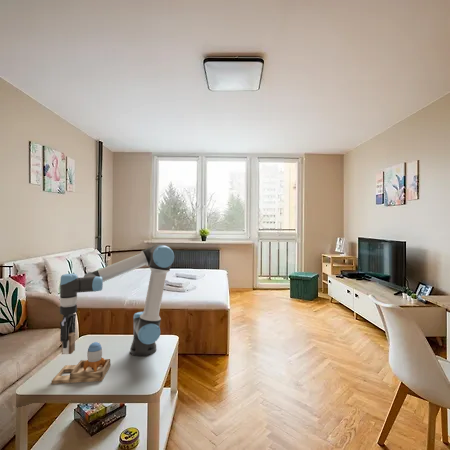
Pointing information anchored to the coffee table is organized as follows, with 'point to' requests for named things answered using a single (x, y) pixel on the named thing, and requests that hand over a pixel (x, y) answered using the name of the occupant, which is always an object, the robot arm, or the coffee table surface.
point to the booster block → (71, 343)
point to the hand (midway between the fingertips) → (67, 351)
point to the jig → (81, 373)
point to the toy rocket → (94, 357)
